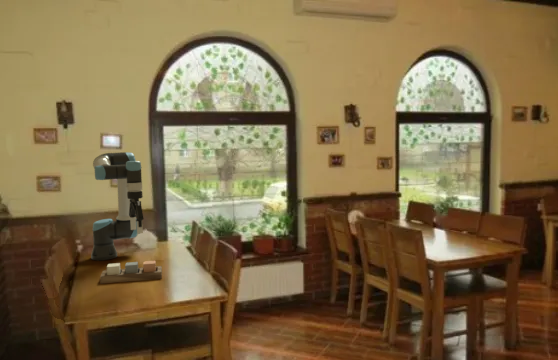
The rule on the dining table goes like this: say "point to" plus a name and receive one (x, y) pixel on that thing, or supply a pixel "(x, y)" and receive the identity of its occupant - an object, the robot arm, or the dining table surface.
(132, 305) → the dining table surface
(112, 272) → the ivory key
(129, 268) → the slate key
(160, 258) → the dining table surface
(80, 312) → the dining table surface
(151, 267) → the terracotta key
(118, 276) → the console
